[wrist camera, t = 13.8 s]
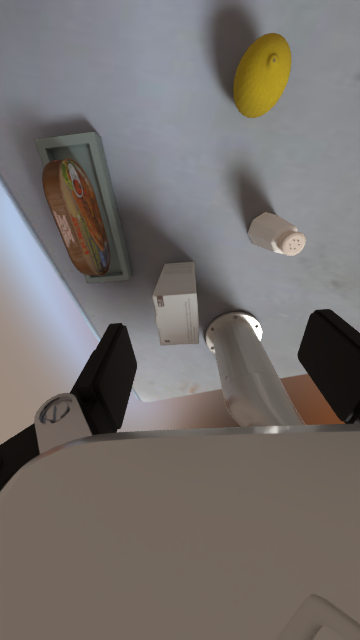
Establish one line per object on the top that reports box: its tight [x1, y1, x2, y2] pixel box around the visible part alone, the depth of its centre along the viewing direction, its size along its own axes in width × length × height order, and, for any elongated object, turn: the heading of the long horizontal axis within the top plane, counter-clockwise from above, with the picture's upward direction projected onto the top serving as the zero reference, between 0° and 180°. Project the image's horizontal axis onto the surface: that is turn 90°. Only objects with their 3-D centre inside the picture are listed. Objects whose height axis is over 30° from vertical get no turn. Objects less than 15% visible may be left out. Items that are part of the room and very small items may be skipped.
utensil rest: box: [34, 132, 132, 283], centre depth 32 cm, size 20×8×2 cm, turn 5°
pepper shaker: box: [248, 212, 306, 256], centre depth 29 cm, size 5×5×11 cm
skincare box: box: [152, 262, 199, 345], centre depth 32 cm, size 8×6×15 cm
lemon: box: [233, 33, 291, 118], centre depth 22 cm, size 6×6×8 cm
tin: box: [42, 158, 111, 276], centre depth 29 cm, size 15×3×8 cm, turn 5°
